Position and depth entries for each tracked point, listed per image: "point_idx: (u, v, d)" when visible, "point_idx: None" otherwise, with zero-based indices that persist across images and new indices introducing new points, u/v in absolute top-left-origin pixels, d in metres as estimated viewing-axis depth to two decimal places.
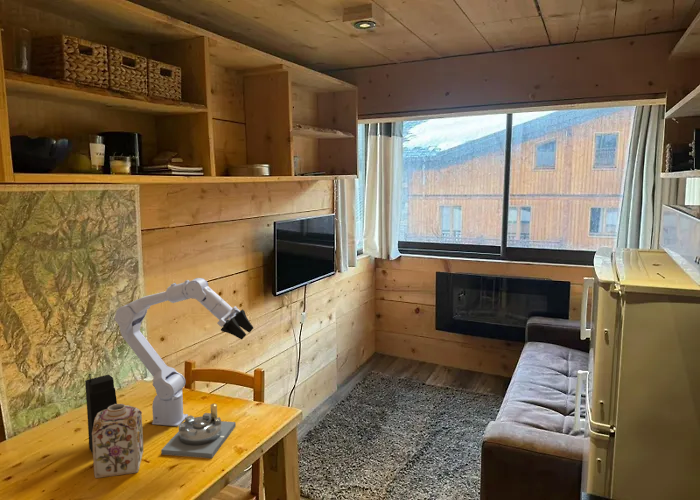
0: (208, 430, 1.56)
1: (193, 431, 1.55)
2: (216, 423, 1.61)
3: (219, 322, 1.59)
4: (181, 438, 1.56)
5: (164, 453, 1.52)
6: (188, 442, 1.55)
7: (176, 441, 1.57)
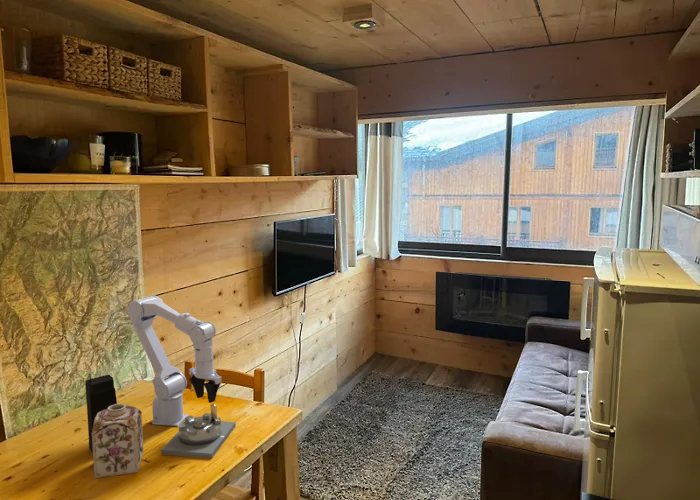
0: (208, 430, 1.56)
1: (193, 431, 1.55)
2: (216, 423, 1.61)
3: (218, 379, 1.61)
4: (181, 438, 1.56)
5: (164, 453, 1.52)
6: (188, 442, 1.55)
7: (176, 441, 1.57)
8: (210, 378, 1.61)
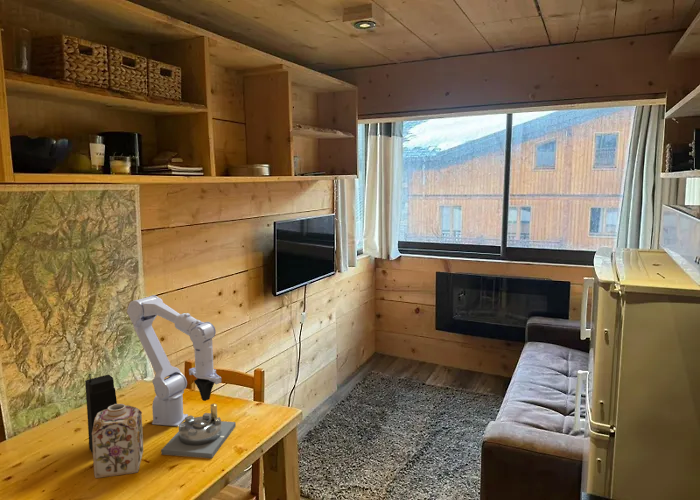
0: (208, 430, 1.56)
1: (193, 431, 1.55)
2: (216, 423, 1.61)
3: (218, 379, 1.61)
4: (181, 438, 1.56)
5: (164, 453, 1.52)
6: (188, 442, 1.55)
7: (176, 441, 1.57)
8: (210, 378, 1.61)
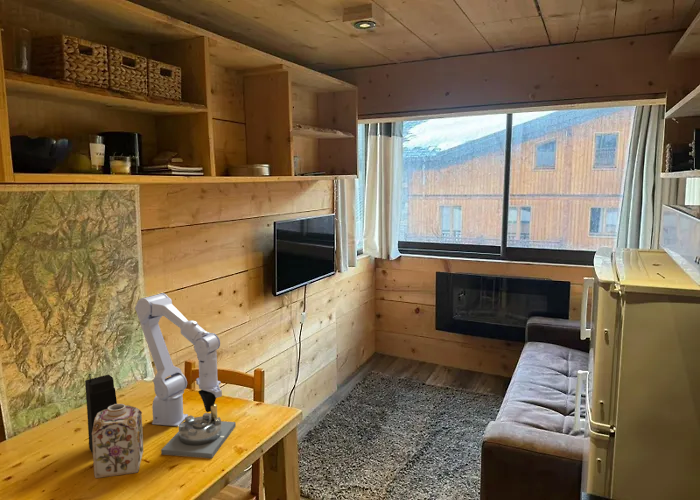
0: (208, 430, 1.56)
1: (193, 431, 1.55)
2: (216, 423, 1.61)
3: (218, 392, 1.59)
4: (181, 438, 1.56)
5: (164, 453, 1.52)
6: (188, 442, 1.55)
7: (176, 441, 1.57)
8: (211, 391, 1.60)
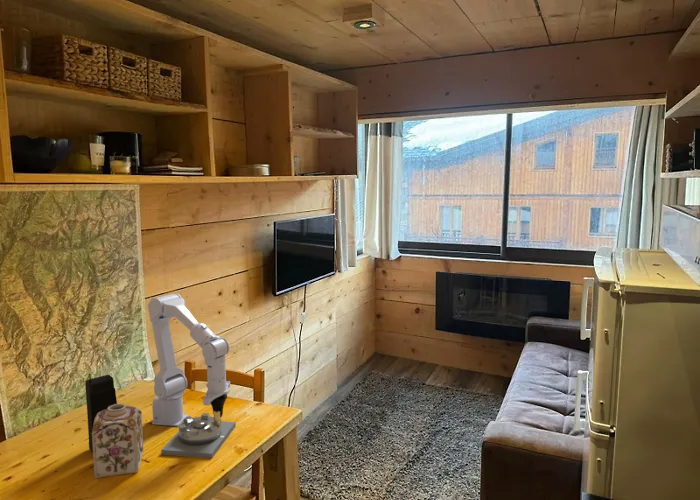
0: None
1: (181, 427, 1.57)
2: (208, 430, 1.57)
3: (205, 400, 1.54)
4: None
5: (164, 453, 1.52)
6: None
7: (176, 441, 1.57)
8: (205, 396, 1.56)
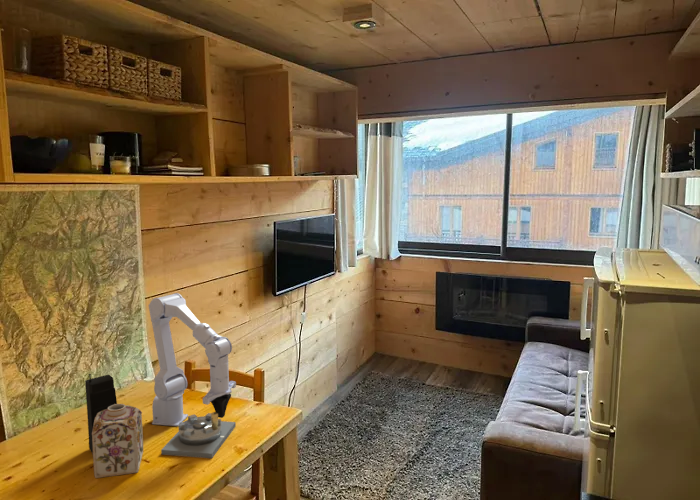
0: None
1: (180, 424, 1.59)
2: (203, 431, 1.56)
3: (204, 399, 1.54)
4: None
5: (164, 453, 1.52)
6: None
7: (176, 441, 1.57)
8: None
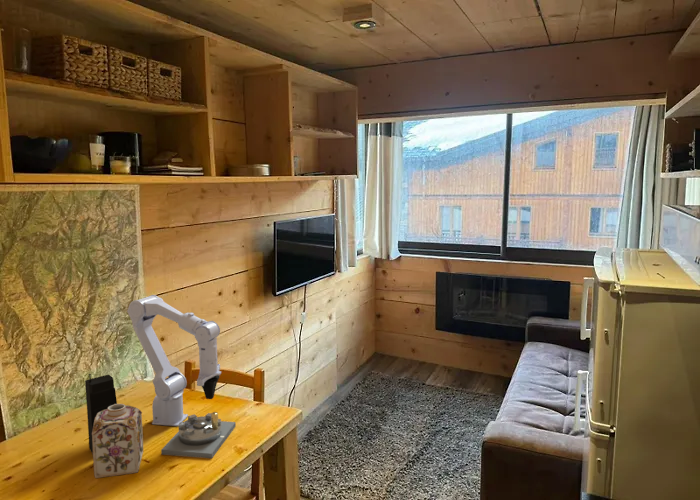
0: None
1: (180, 424, 1.59)
2: (203, 431, 1.56)
3: (199, 381, 1.59)
4: None
5: (164, 453, 1.52)
6: None
7: (176, 441, 1.57)
8: None
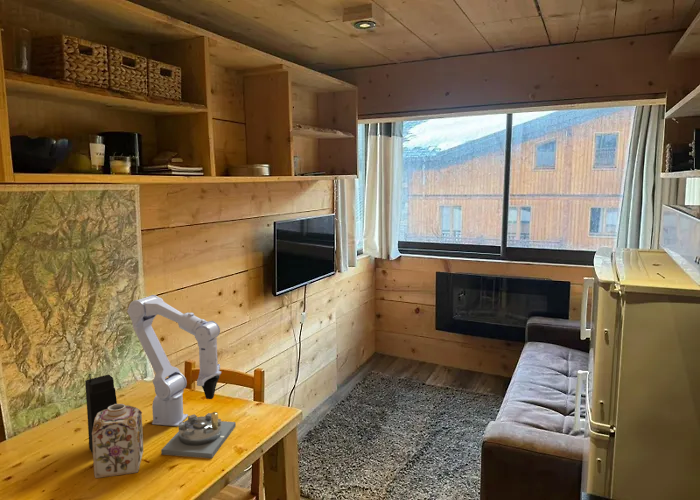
0: None
1: (180, 424, 1.59)
2: (203, 431, 1.56)
3: (199, 381, 1.59)
4: None
5: (164, 453, 1.52)
6: None
7: (176, 441, 1.57)
8: None
